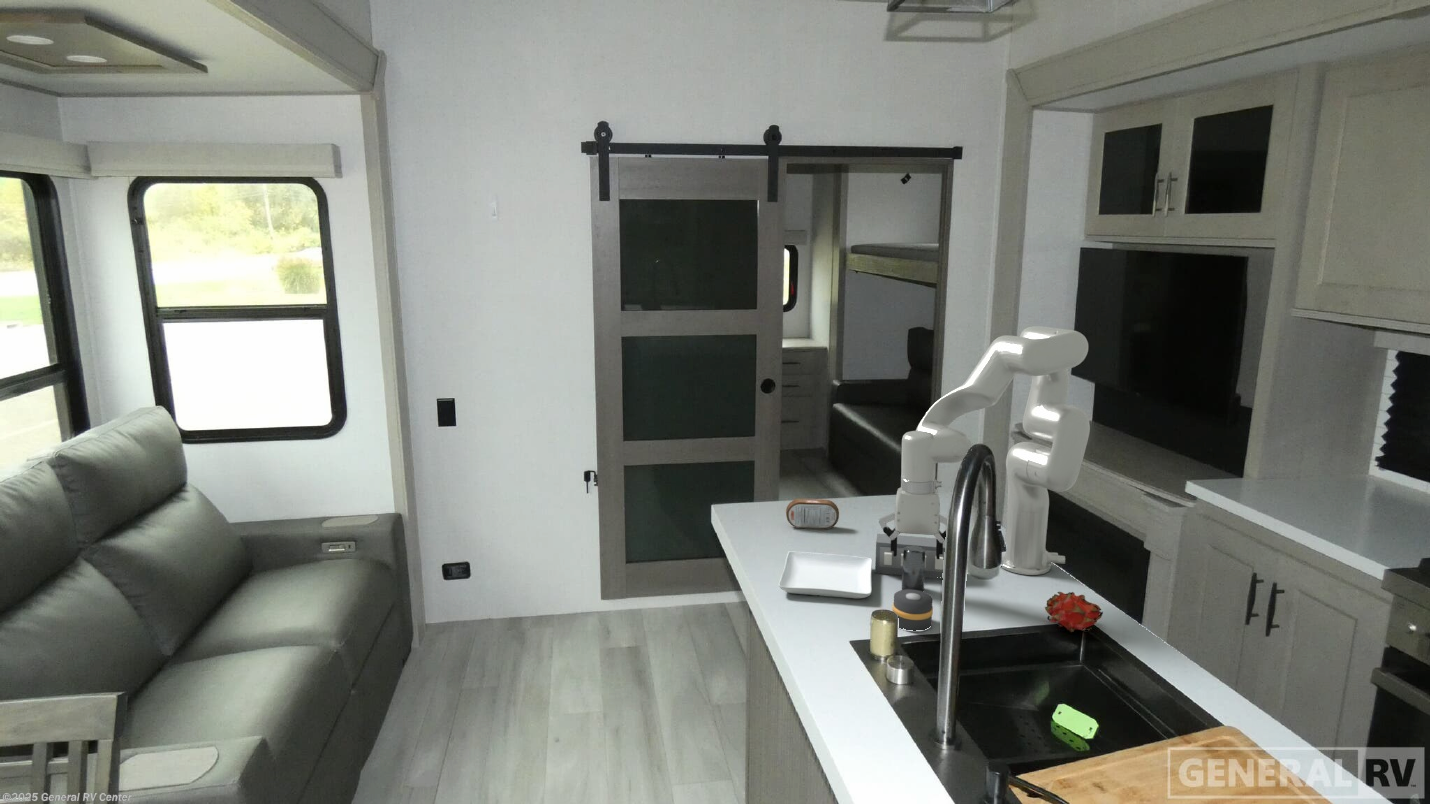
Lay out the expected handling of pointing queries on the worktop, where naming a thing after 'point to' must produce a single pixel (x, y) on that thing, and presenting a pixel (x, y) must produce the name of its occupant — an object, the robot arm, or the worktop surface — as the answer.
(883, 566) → the breaker panel
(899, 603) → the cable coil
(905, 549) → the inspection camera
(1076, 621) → the dragon fruit
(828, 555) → the salad plate
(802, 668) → the worktop surface
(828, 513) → the tin
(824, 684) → the worktop surface
